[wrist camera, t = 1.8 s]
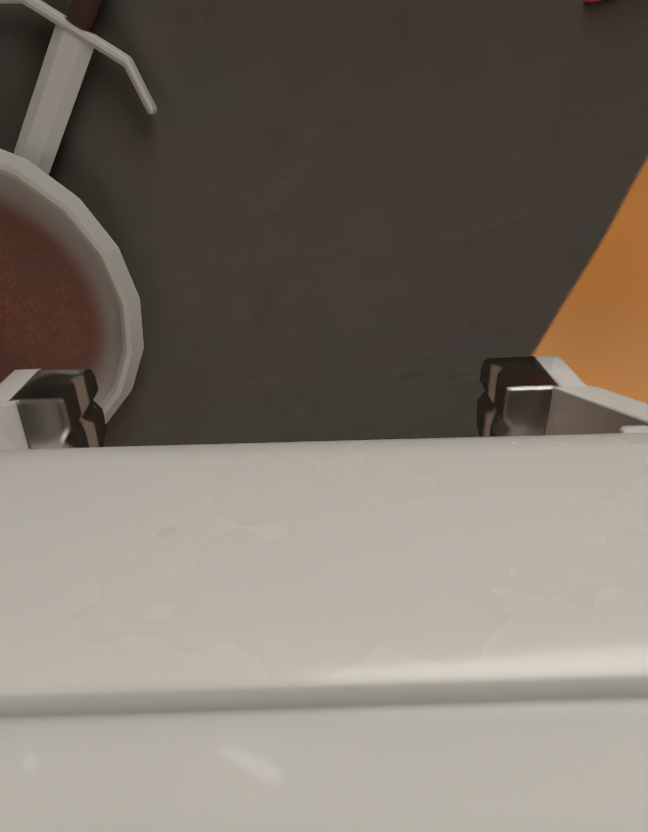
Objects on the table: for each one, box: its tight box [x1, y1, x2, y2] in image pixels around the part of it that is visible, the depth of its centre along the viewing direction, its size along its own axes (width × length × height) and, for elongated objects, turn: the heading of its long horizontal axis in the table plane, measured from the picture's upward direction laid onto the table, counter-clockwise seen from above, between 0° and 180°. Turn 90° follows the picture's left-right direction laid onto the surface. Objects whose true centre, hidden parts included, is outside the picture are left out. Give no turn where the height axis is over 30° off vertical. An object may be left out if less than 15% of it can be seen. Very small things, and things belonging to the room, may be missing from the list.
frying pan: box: [0, 0, 157, 424], centre depth 29 cm, size 17×3×28 cm
